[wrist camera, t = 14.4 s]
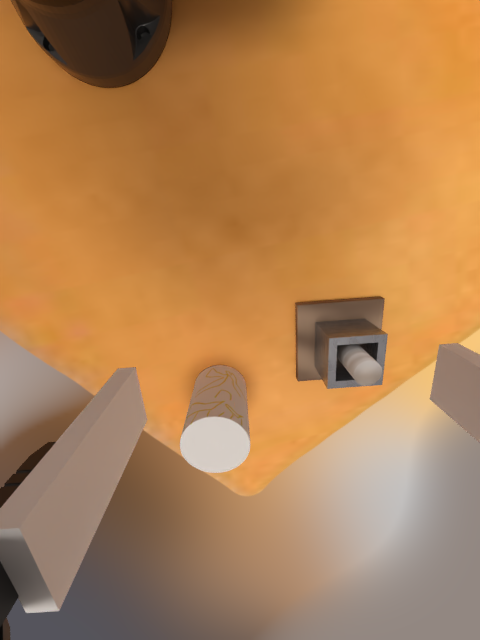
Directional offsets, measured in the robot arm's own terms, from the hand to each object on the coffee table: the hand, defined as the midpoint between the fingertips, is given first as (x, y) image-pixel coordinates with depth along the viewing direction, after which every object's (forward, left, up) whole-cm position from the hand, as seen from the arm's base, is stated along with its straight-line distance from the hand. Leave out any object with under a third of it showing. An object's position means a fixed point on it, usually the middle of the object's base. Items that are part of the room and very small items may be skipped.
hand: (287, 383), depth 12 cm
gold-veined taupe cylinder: (+17, -6, -27) cm, 32 cm away
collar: (+10, +12, -26) cm, 30 cm away
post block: (+10, +12, -27) cm, 31 cm away
